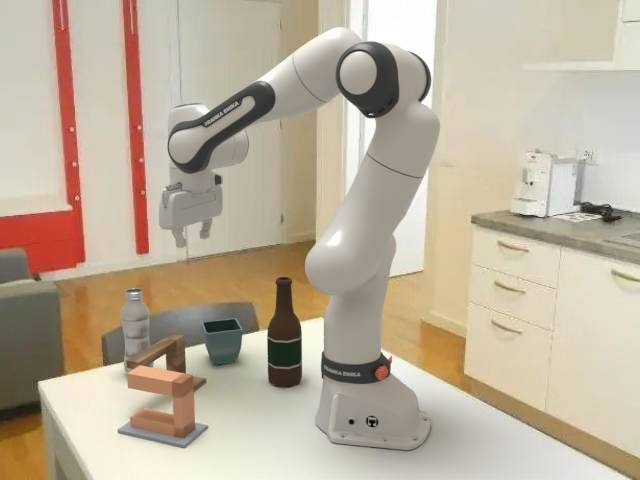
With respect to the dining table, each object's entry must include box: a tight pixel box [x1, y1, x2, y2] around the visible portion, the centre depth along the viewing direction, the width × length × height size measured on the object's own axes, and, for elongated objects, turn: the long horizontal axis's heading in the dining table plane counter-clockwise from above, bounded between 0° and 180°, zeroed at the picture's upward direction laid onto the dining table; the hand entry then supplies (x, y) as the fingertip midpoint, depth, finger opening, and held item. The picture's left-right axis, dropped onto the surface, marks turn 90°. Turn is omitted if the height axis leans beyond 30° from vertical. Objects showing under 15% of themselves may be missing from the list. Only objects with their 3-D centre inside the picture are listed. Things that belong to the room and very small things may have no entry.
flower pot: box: [201, 318, 243, 365], centre depth 158 cm, size 9×9×9 cm
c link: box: [126, 365, 196, 438], centre depth 124 cm, size 12×4×11 cm, turn 68°
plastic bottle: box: [119, 287, 155, 374], centre depth 149 cm, size 6×7×20 cm
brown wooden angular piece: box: [126, 333, 207, 393], centre depth 138 cm, size 10×18×12 cm, turn 158°
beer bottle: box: [266, 276, 303, 388], centre depth 144 cm, size 8×8×24 cm
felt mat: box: [117, 420, 209, 449], centre depth 125 cm, size 15×8×1 cm, turn 68°
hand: (193, 242), depth 144 cm, fingers open, 8 cm apart
